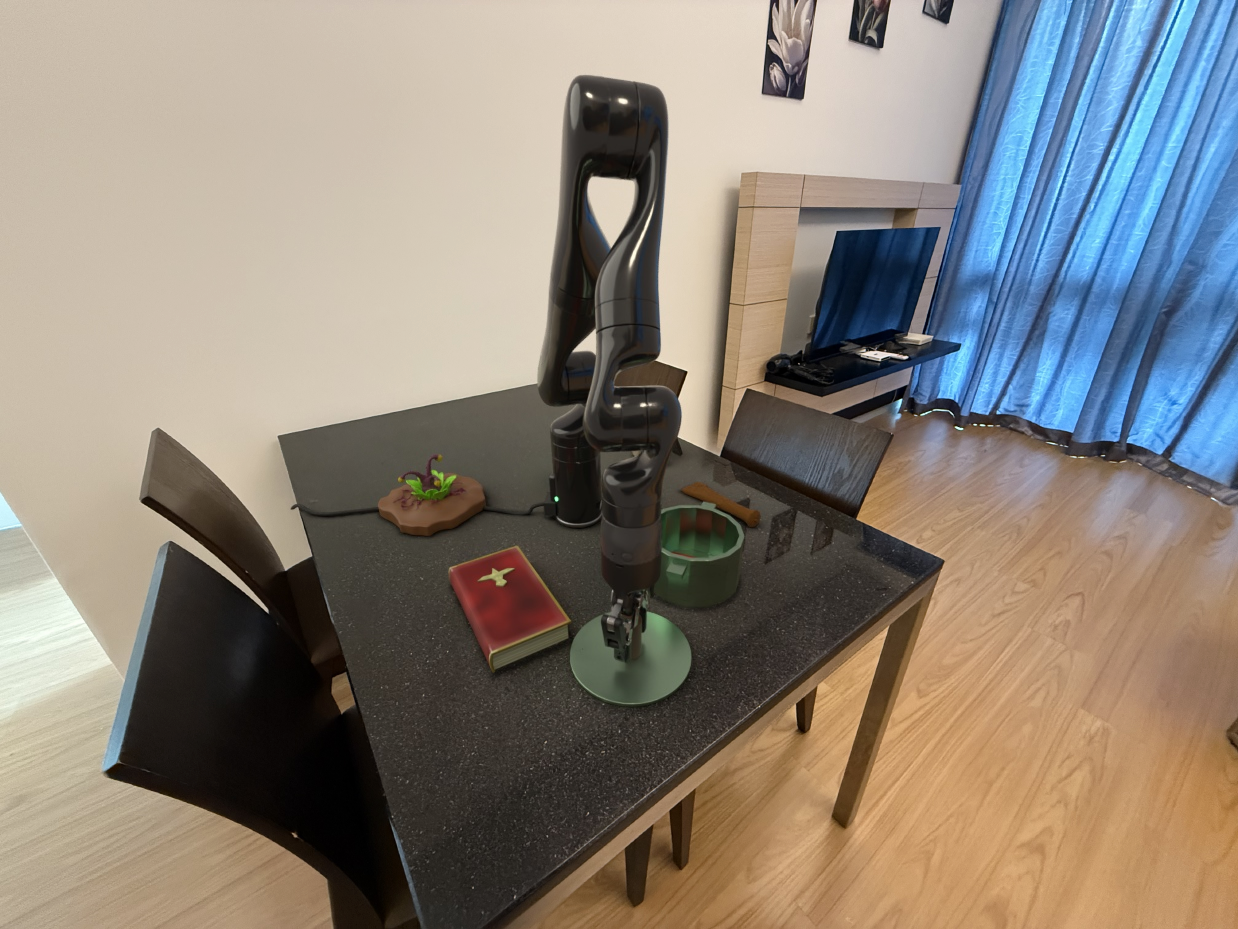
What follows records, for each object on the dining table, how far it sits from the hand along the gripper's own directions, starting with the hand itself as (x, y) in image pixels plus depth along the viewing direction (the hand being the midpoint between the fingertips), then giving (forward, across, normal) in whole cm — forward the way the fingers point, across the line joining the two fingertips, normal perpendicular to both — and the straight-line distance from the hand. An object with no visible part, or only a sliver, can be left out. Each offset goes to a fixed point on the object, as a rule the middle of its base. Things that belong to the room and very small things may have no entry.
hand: (630, 644), depth 72 cm
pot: (+3, -20, +3) cm, 20 cm away
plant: (+3, -22, -52) cm, 57 cm away
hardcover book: (+3, -1, -21) cm, 21 cm away
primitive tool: (+3, -44, +2) cm, 44 cm away
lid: (+2, 0, 0) cm, 2 cm away
